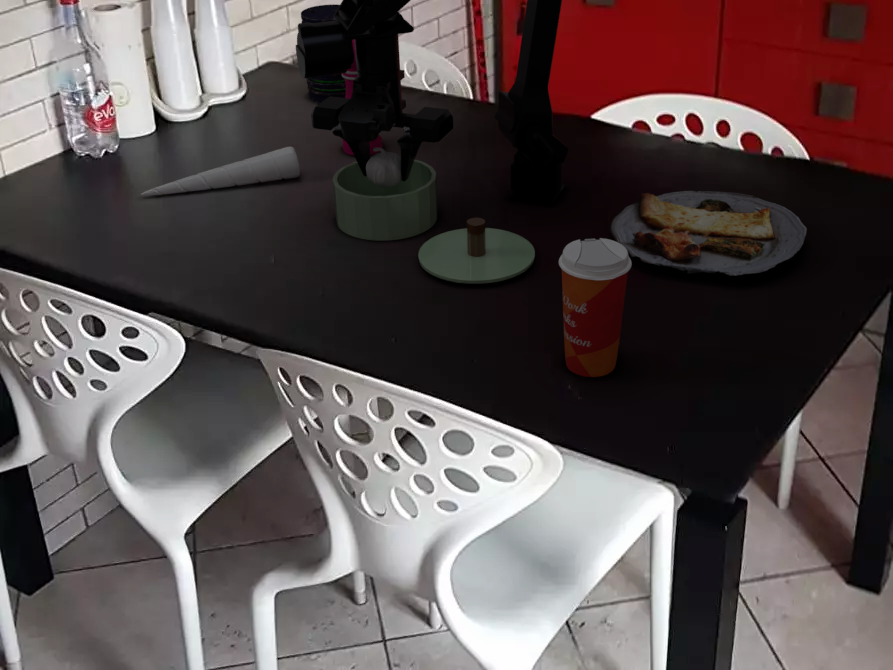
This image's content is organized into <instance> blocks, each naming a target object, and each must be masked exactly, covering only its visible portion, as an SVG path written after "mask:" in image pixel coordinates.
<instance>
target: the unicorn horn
mask: <svg viewBox="0 0 893 670" xmlns="http://www.w3.org/2000/svg"><path fill="white" fill-rule="evenodd" d="M300 174H301V170H300V163H299V158H298V155H297V152H296V150H295V148H294V146H292V145H291V146H285V147H281V148H279V149H275V150H272V151H268V152H266V153H262V154H258V155H255V156H252V157H248V158H245V159H242V160H239V161H235V162H231V163H227V164H225V165H222V166H219V167H215V168H210V169H208V170H204V171H202V172H198V173H196V174H191V175H189V176H186V177H183V178H180V179H177V180H174V181H171V182H168V183H164V184H162V185H159V186H156V187H153V188H151V189H147V190H145V191H143V192H141V193H140V196H160V195H162V196H163V195H170V194H171V195H172V194H181V193H187V192H198V191H206V190H212V189H221V188H223V189H224V188H229V187H235V186H244V185H252V184H259V183H266V182H267V183H268V182H274V181H282V180H283V179H284V180H289V179H296V178H299V177H300V176H301V175H300Z"/></svg>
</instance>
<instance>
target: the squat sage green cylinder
mask: <svg viewBox="0 0 893 670" xmlns="http://www.w3.org/2000/svg"><path fill="white" fill-rule="evenodd" d="M437 179H438V178H437V172H436V170H435V168H434V167H433V166H432V165H430V164H428V163H426V162H424V161H421V160H419V159H415V160H414V163H413V165H412V168H411V171H410V174H409V177H408V179H407V180H406V181H402V180H401V181H400V183H399V184H398V185H397V186H396V187H386V188H385V187H379V186H376V185H374V184H373V183H372V182H371V181H370V180H369V179H368V177H367V176H364V175H363V173H362V171H361V169H360V167H359V165H358V163H357V160H355V161H353V162H351V163H348V164H346V165H344V166H342V167H341V168H339V169H338V170H337V171H336V172H335V173H334V175H333V177H332V190H333V201H334V213H335V220H336V221H335V222H336V225H337V227H338V228H339V229H340V231H342V232H343V233H344V234H347V235H348V236H351V237H353V238H357V239H361V240H366V241H368V240H369V241H376V242H377V241H379V242H380V241H384V242H385V241H387V242H388V241H397V240H398V241H399V240H403V239H408V238H412V237H415V236H418V235H421V234H423V233H425V232H426V231H428V230H430V229H431V228H433V226H434V225H435V224H436V223H437V220H438V214H439V213H438V212H439V211H438V210H439V209H438V182H437Z"/></svg>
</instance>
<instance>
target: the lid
mask: <svg viewBox="0 0 893 670" xmlns="http://www.w3.org/2000/svg"><path fill="white" fill-rule="evenodd" d="M417 256H418V262H419V265H420V267H421V268H422V269H423V270H424V271H425V272H426V273H428V274H430V275H431V276H434V277H435V278H438V279H441V280H444V281H448V282H452V283H459V284H468V285H469V284H471V285H474V284H476V285H479V284H493V283H498V282H503V281H506V280H509V279H513V278H515V277H517V276H520V275H521V274H523V273H525V272H526V271H527V270H529V269H530V268H531V267H532V265H533V264H534V262H535V259H536V250H535V247H534V246H533V244H532V243H531V242H530V241H529V240H528V239H526V237H525V238H524V237H523V236H521V235H519V234H517V233H514V232H511V231H509V230H504V229H500V228H491V227H486V220H485V219H484V218H481V217H471V218H468V219H467V220H466V227H465V228H459V229H458V228H457V229H453V230H449V231H445V232H442V233H439V234H436V235H435V236H432V237H431V238H429V239H428V240H426V241H425V242H424V243H423V244H422V245H421V246H420V248H419V250H418V254H417Z"/></svg>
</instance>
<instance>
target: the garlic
mask: <svg viewBox="0 0 893 670" xmlns="http://www.w3.org/2000/svg"><path fill="white" fill-rule="evenodd" d="M373 151H375V152H376V151H380V152H378V153H376V154H373V155H371V156H370V159H369V160H368V162H367V164H366V173H367V177H368V179H369V180H370V181H371V182H372V183H373V184H374V185H376V186H379V187H385V188H386V187H396V186H397V185H398V184H399V183H400V181H401V180H402V176H401V155H399V154H397V153H396V152H392V151H391V152H390V151H386V150H385V149H384V148H383V147H382V148H381V147H379V148H374V149H373Z"/></svg>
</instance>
